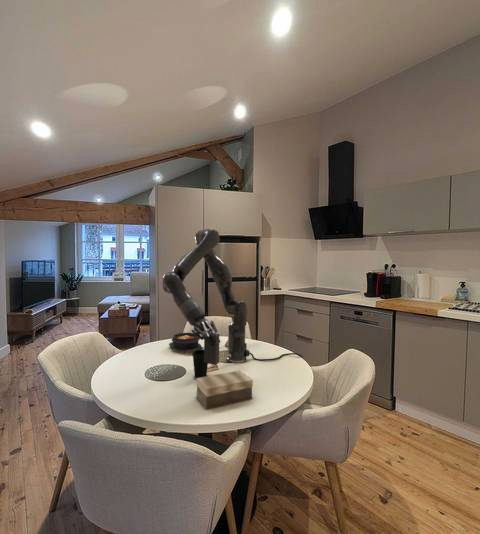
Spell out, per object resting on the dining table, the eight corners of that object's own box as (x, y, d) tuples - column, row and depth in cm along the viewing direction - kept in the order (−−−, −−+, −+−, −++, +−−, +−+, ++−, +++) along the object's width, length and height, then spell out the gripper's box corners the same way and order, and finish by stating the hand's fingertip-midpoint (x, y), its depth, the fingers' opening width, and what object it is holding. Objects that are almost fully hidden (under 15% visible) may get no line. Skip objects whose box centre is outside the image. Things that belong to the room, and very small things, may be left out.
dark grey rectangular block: (208, 360, 131) (208, 332, 130) (219, 362, 128) (220, 333, 128) (203, 362, 128) (204, 333, 128) (215, 365, 125) (215, 335, 125)
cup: (211, 375, 150) (211, 350, 150) (205, 381, 143) (205, 355, 142) (196, 373, 153) (196, 348, 152) (189, 379, 145) (189, 353, 145)
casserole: (210, 350, 186) (210, 337, 186) (184, 358, 174) (184, 343, 174) (186, 341, 205) (186, 329, 204) (161, 347, 192) (161, 334, 192)
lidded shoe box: (239, 388, 136) (239, 370, 136) (252, 399, 126) (252, 379, 126) (196, 397, 127) (196, 378, 127) (206, 409, 117) (206, 389, 117)
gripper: (186, 308, 125) (212, 343, 119) (206, 303, 137) (230, 334, 131) (176, 320, 128) (201, 354, 122) (196, 314, 140) (219, 345, 134)
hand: (216, 344), depth 127 cm, fingers closed on dark grey rectangular block, 3 cm apart
